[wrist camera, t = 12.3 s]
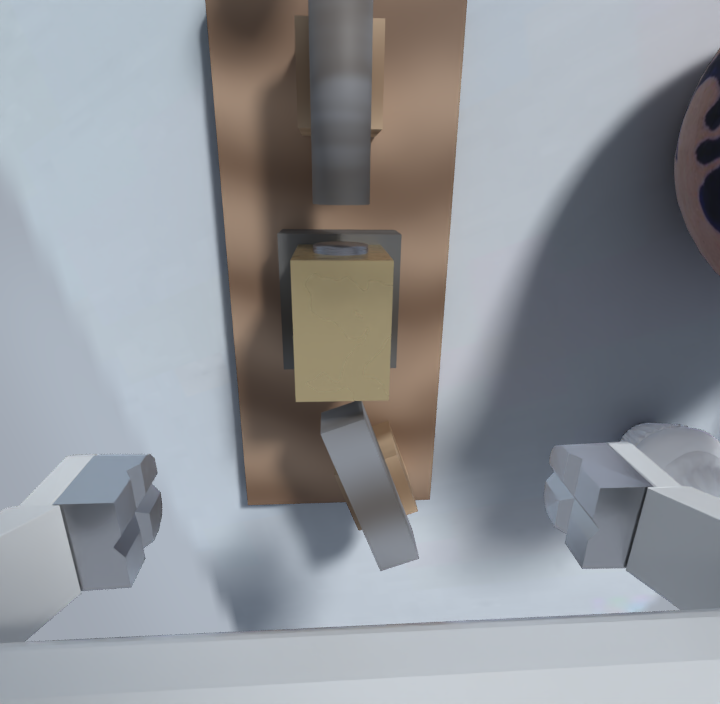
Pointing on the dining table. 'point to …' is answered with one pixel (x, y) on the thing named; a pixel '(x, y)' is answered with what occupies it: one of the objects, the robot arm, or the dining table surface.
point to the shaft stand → (338, 232)
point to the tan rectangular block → (341, 321)
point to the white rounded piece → (680, 453)
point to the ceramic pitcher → (701, 165)
